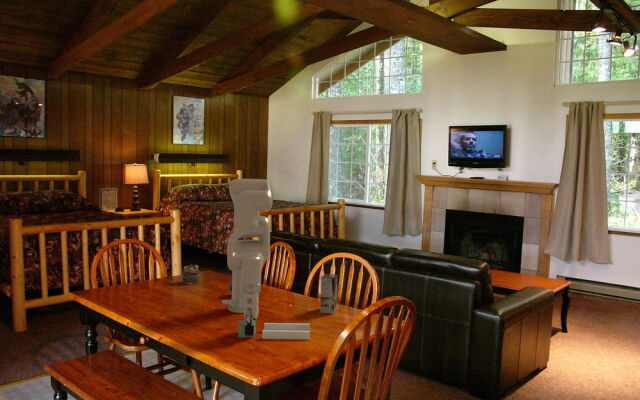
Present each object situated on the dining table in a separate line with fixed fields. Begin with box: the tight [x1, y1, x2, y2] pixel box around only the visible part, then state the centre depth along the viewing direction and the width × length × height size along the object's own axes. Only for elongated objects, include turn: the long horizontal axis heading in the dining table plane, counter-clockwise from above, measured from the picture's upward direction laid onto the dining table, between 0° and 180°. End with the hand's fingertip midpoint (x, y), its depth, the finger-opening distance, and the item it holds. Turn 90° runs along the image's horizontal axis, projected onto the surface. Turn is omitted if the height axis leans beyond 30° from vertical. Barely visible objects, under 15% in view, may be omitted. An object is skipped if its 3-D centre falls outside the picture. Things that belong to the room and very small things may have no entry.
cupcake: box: [181, 263, 200, 283], centre depth 295 cm, size 10×10×10 cm
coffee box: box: [319, 273, 339, 315], centre depth 245 cm, size 9×6×16 cm
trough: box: [261, 322, 311, 341], centre depth 210 cm, size 18×10×3 cm, turn 92°
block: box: [237, 319, 256, 338], centre depth 210 cm, size 6×6×5 cm
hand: (250, 331), depth 210 cm, fingers open, 8 cm apart
